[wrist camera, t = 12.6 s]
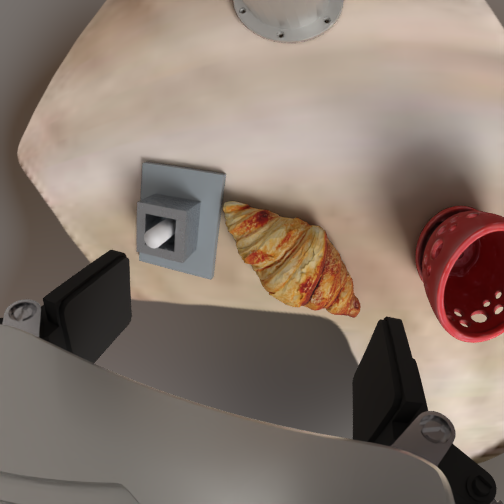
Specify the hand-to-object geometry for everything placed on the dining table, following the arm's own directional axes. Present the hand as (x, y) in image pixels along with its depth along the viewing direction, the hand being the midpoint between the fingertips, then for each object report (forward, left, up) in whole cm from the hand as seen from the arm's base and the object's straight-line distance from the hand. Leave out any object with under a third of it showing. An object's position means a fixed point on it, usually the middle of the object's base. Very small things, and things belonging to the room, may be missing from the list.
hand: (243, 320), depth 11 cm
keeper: (+8, -14, -28) cm, 33 cm away
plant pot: (+3, +21, -29) cm, 36 cm away
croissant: (+9, +1, -29) cm, 30 cm away
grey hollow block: (+8, -15, -27) cm, 32 cm away
